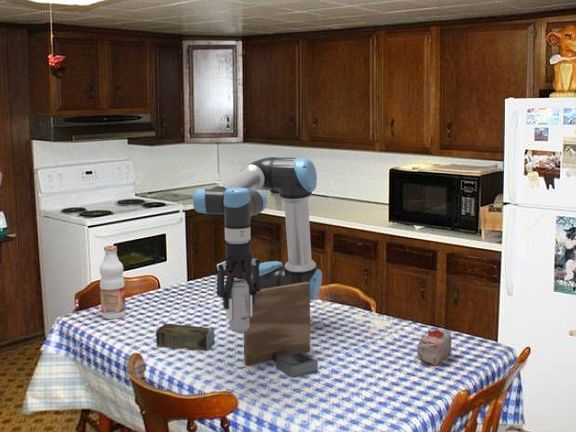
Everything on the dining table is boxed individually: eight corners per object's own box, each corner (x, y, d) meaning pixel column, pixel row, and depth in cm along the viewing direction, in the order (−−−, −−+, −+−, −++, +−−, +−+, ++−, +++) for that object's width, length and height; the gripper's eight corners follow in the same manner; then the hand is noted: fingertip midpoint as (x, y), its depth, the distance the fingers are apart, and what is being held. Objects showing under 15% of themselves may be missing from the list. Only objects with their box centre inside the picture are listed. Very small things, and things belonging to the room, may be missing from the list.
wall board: (244, 363, 227) (243, 291, 223) (306, 349, 239) (306, 281, 235) (247, 365, 225) (245, 293, 221) (309, 351, 237) (309, 282, 233)
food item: (438, 368, 222) (439, 338, 220) (414, 363, 226) (415, 334, 225) (453, 355, 233) (454, 326, 232) (430, 350, 238) (431, 322, 236)
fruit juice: (98, 315, 278) (94, 246, 273) (120, 310, 284) (117, 243, 279) (107, 321, 271) (103, 250, 266) (129, 316, 276) (126, 247, 271)
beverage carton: (207, 351, 238) (206, 333, 237) (155, 347, 243) (154, 329, 242) (215, 343, 246) (214, 325, 245) (164, 339, 250) (163, 322, 249)
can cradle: (266, 361, 229) (266, 351, 228) (291, 355, 233) (291, 345, 233) (291, 377, 215) (291, 366, 215) (317, 371, 220) (317, 360, 219)
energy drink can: (246, 333, 205) (245, 284, 203) (227, 332, 207) (225, 283, 204) (251, 326, 211) (251, 278, 209) (232, 325, 212) (231, 277, 210)
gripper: (213, 247, 196) (215, 326, 200) (272, 239, 206) (273, 315, 210) (202, 242, 203) (204, 319, 207) (260, 235, 212) (261, 308, 216)
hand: (239, 317), depth 208 cm, fingers closed on energy drink can, 6 cm apart
